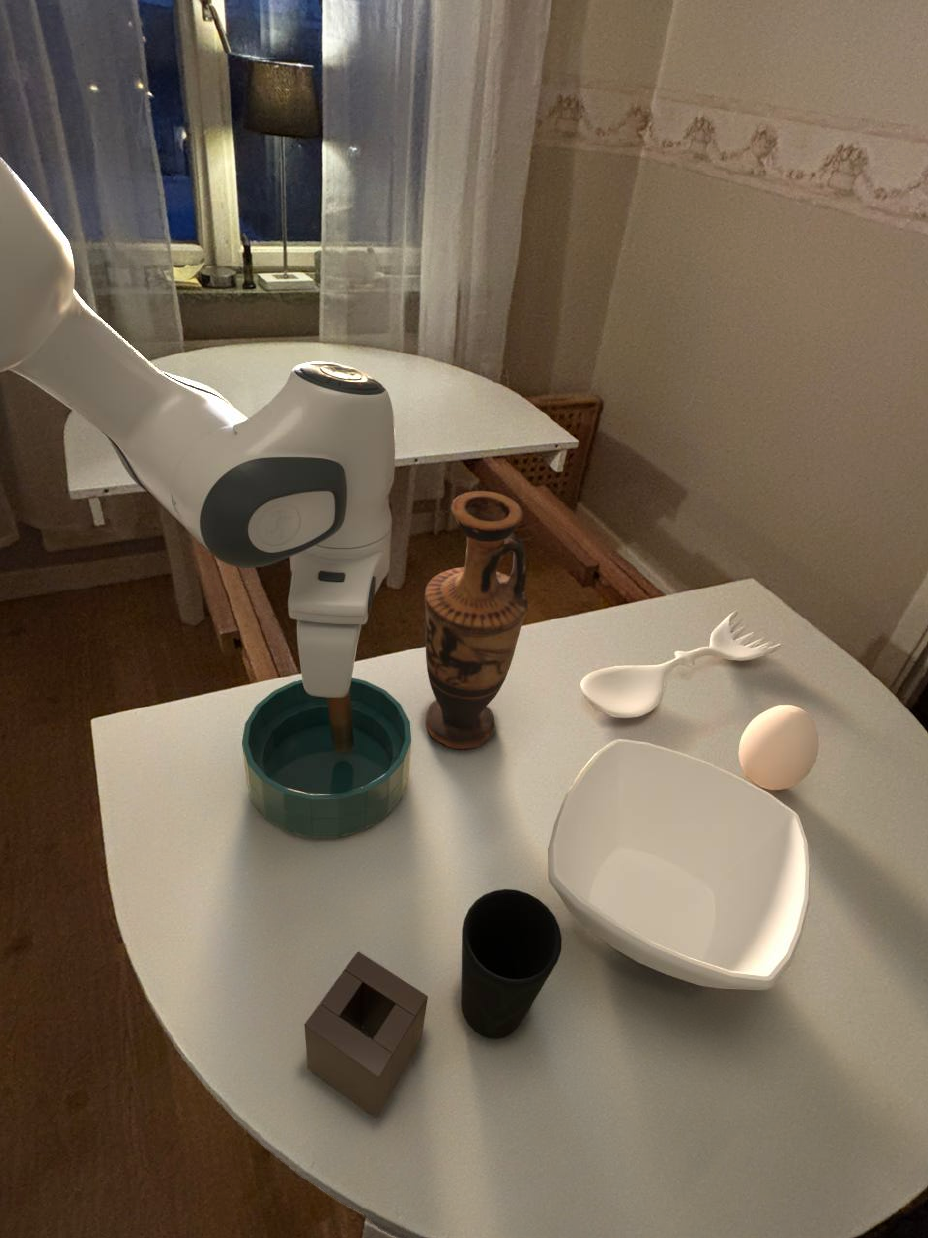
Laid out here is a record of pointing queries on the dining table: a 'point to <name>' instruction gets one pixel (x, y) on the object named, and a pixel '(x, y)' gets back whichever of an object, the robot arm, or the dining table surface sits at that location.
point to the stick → (341, 723)
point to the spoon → (663, 673)
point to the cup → (505, 959)
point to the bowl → (682, 866)
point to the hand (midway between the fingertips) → (340, 664)
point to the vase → (474, 621)
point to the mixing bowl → (326, 760)
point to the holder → (349, 1053)
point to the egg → (779, 747)
